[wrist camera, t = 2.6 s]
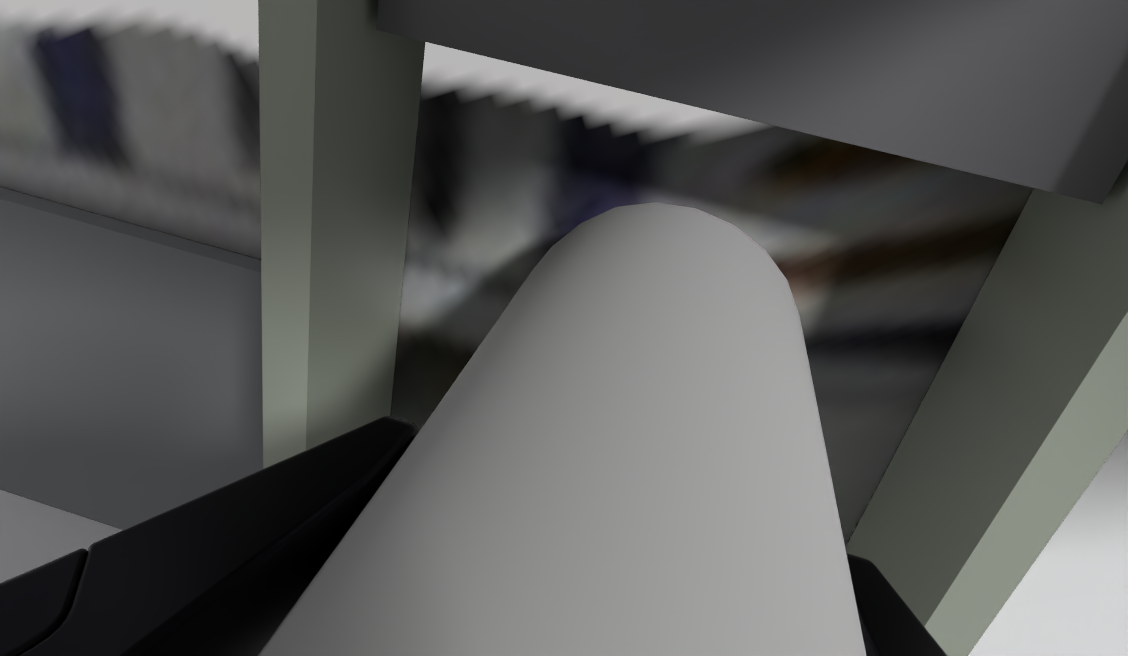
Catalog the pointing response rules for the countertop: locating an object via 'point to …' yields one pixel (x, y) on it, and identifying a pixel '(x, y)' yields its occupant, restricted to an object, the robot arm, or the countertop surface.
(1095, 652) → the countertop surface
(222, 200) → the countertop surface
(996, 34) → the case
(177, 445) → the pad
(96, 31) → the countertop surface
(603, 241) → the beverage can
